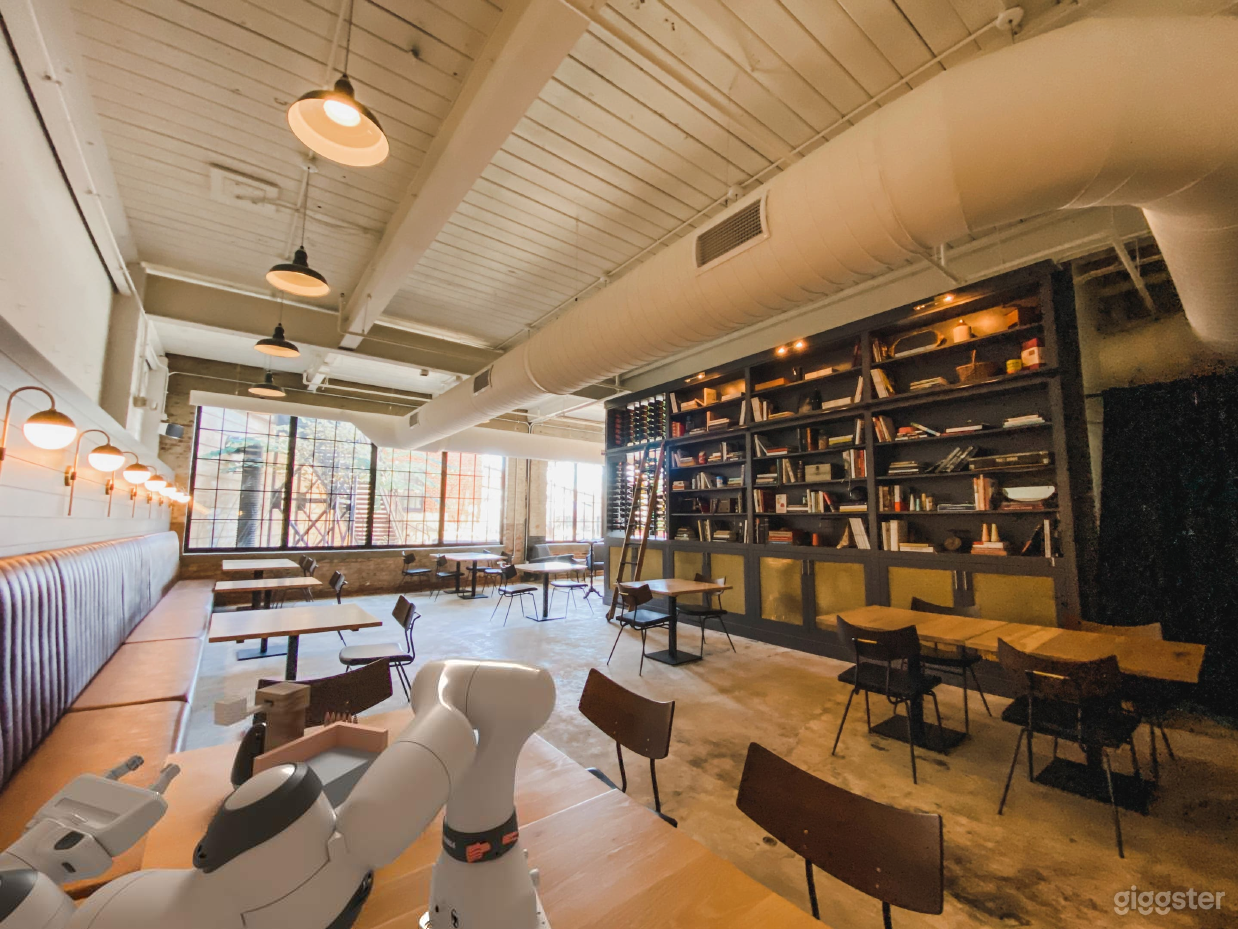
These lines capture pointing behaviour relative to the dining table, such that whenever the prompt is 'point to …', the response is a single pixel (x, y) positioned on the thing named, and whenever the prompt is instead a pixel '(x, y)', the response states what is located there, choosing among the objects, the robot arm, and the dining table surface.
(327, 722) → the ammunition clip
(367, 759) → the slate crate
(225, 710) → the aluminium bracket
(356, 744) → the terracotta walls
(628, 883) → the dining table surface
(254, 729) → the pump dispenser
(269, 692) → the walnut post
